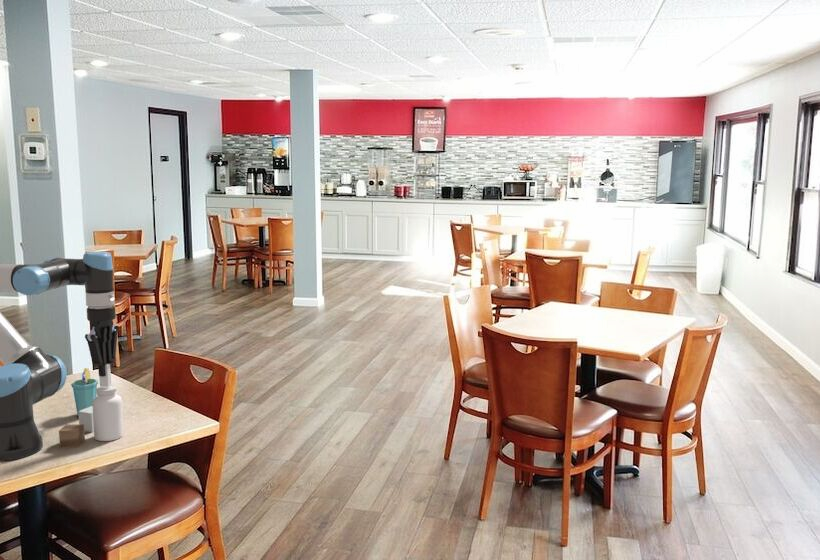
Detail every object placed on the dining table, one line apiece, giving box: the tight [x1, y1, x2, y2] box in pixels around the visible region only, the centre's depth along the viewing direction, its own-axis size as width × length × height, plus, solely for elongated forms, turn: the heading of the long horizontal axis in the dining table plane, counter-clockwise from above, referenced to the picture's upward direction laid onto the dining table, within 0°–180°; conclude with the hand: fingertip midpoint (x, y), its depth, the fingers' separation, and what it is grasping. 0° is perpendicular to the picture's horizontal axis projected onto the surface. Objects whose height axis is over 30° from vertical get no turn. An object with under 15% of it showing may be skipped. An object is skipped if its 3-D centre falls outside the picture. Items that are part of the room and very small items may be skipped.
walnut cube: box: [58, 423, 86, 448], centre depth 209 cm, size 5×5×5 cm
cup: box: [70, 367, 99, 417], centre depth 232 cm, size 14×8×15 cm, turn 24°
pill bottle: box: [92, 384, 124, 442], centre depth 214 cm, size 8×8×15 cm
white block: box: [78, 406, 94, 434], centre depth 221 cm, size 5×5×6 cm
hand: (105, 385), depth 212 cm, fingers closed
